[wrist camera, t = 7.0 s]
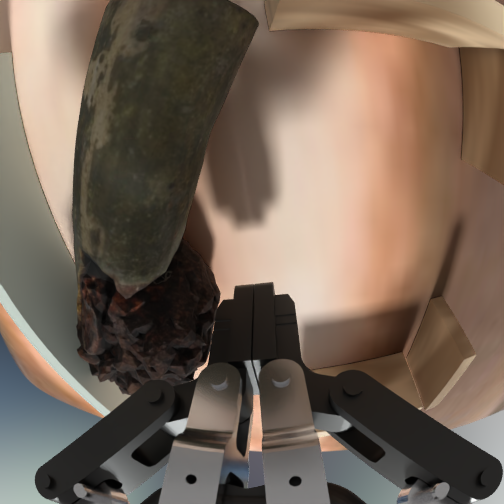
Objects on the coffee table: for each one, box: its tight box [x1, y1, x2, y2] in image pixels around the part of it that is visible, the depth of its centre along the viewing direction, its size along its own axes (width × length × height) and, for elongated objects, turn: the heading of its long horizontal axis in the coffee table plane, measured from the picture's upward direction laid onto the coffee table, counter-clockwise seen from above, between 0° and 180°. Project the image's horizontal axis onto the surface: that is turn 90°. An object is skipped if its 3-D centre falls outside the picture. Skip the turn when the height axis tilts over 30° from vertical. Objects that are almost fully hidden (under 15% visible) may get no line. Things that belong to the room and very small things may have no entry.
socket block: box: [264, 0, 504, 437], centre depth 11 cm, size 10×22×5 cm, turn 8°
